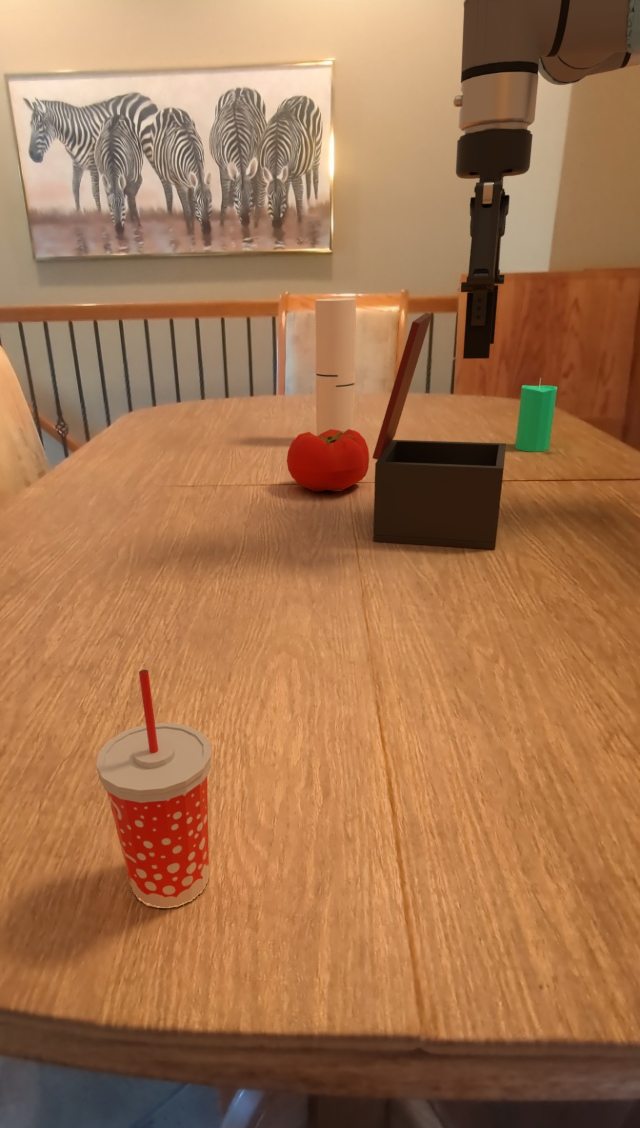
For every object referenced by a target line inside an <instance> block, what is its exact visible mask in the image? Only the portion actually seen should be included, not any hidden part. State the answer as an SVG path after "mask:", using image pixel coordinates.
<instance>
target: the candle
mask: <svg viewBox="0 0 640 1128" xmlns="http://www.w3.org/2000/svg"><path fill="white" fill-rule="evenodd" d="M541 381H542V377H540V378H539V384H538V385H526V384H525V385H524V384H523V385H521V391H520V399H519V400H520V401H519V410H518V418H517V427H516V428H517V429H516V436H515V444H514V449H517V450H518V451H523V452H532V453H533V452H535V453H537V452H538V453H539V452H546V451H549V450H550V446H551V445H550V444H551V438H552V430H553V421H554V416H555V415H554V414H555V408H556V400H557V392H558V386H554V385H541Z"/></svg>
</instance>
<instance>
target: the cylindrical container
mask: <svg viewBox="0 0 640 1128" xmlns="http://www.w3.org/2000/svg"><path fill="white" fill-rule="evenodd" d="M314 301H315V303H314V304H315V305H314V308H315V309H314V310H315V391H316V392H315V405H316V406H315V410H316V411H315V413H316V416H315V417H316V422H315V423H316V425H315V426H316V436H319V435H320V434H321V433H323V432H326V431H328V430H330V429H332V430H340V431H341V432H342V431H343V432H342V433H344V432H345V431H346V430H348V429H350V430H354V431H355V406H356V405H355V404H356V403H355V402H356V401H355V398H356V397H355V393H356V389H355V388H356V326H357V325H356V320H357V319H356V318H357V317H356V316H357V315H356V314H357V299H356V298H354V297H337V298H335V297H332V298H319V299H314Z"/></svg>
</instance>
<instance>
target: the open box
mask: <svg viewBox="0 0 640 1128" xmlns="http://www.w3.org/2000/svg"><path fill="white" fill-rule="evenodd" d="M506 448H507V443H504V442H479V441H478V442H477V441H476V442H473V441H447V440H446V441H444V440H443V441H441V440H415V439H414V440H411V439H393V440H392V441H391V443H390V444H389V445H388V447H387V448H386V450H385V451H384V453H383V454H382V456H381V457H380V459H379V460H376V462H375V464H374V495H373V496H374V497H373V501H374V502H373V530H372V531H373V532H372V533H373V534H372V541H373V543H374V542H377V543H392V544H405V545H406V544H407V545H419V546H433V547H434V546H435V547H451V548H462V549H463V548H464V549H479V550H493V551H495V550H496V545H497V536H498V535H497V534H498V526H499V515H500V507H501V496H502V487H503V478H504V469H505V459H506V450H507V449H506Z"/></svg>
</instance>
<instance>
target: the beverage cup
mask: <svg viewBox="0 0 640 1128" xmlns="http://www.w3.org/2000/svg"><path fill="white" fill-rule="evenodd" d="M138 676H139V683H140V691H141V696H142V697H141V699H142V707H143V713H144V714H143V715H144V719H145V724H141V725H138V726H136V727H131V728H128V729H125V730H124V731H121V732H120V733H118V734H117V735H115V736H113V737H112V738H110V739H108V741H107V742H106V743H105V744H104V745H103V746H102V748H101V749H99V751H98V753H97V759H96V764H95V767H96V771H97V774H98V779H99V781H100V783H101V785H102V787H103V789H104V790H105V791H106V794H107V798H108V801H109V805H110V809H111V813H112V817H113V821H114V825H115V829H116V834H117V838H118V841H119V845H120V849H121V853H122V858H123V860H124V865H125V869H126V873H127V877H128V881H129V885H131V886H130V888H131V887H132V889H133V891H134V893H135V895H137V897H139V898H141V899H143V901H144V902H146V903H150V904H152V905H156V906H161V907H169V906H174V905H179V904H182V903H183V902H185V901H188V900H191V899H192V898H193V897H195V896H196V895H197V894H198V893H200V891H202V890H203V888H204V886H205V884H206V882H207V880H208V878H209V879H210V856H209V853H210V851H209V802H208V799H209V797H208V795H209V794H208V774H209V773H210V771H211V770H212V744H211V741H210V740H209V739H208V738H207V737H206V735H205V734H204V733H203V732H202V731H200V730H198V729H196V728H193V727H192V726H190V725H187V724H182V723H176V722H175V723H174V722H168V721H167V722H156V719H155V714H154V705H153V696H152V688H151V680H150V673H149V670H148V669H141V670H139V671H138ZM132 889H131V890H132ZM133 891H132V892H133ZM134 893H133V894H134ZM135 895H134V896H135Z"/></svg>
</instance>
